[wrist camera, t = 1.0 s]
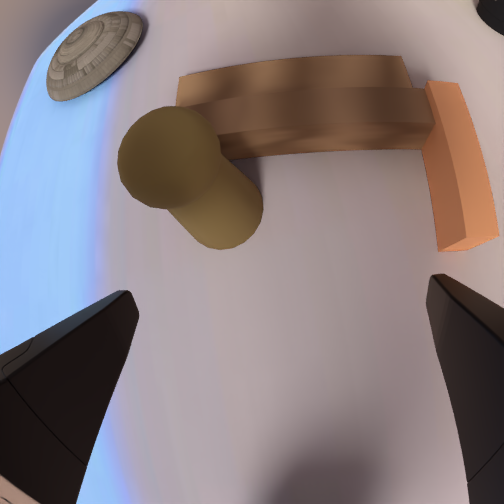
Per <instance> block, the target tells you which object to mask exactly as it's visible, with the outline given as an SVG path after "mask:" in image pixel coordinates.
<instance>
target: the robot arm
mask: <svg viewBox="0 0 504 504" xmlns="http://www.w3.org/2000/svg"><path fill="white" fill-rule="evenodd" d="M426 307H427V312H428V316H429V320H430V325H431V329H432V334H433V339H434V344H435V348H436V352H437V356H438V359H439V362H440V365H441V369H442V372H443V376H444V379H445V382H446V386H447V390H448V393H449V397H450V401H451V405H452V409H453V413H454V417H455V421H456V426H457V430H458V435H459V439H460V444H461V449H462V455H463V460H464V466H465V472H466V479H467V482H468V483H467V487H468V494H469V503H470V504H504V308H502V307H501V306H499V305H497V304H496V303H494V302H492V301H491V300H489V299H487V298H486V297H484V296H482V295H481V294H479V293H477V292H475V291H474V290H472V289H470V288H469V287H467V286H465V285H463V284H462V283H460V282H458V281H456V280H454V279H453V278H451V277H449V276H447V275H446V274H434V275H432V276H431V277H430V280H429V286H428V292H427V298H426ZM138 320H139V311H138V308H137V306H136V303H135V301H134V298H133V296H132V293H131V292H130V291H128V290H119V291H116V292H114V293H112V294H110V295H109V296H107V297H105V298H103V299H101V300H99V301H97V302H96V303H94V304H92V305H90V306H88V307H86V308H84V309H83V310H81V311H79V312H77V313H75V314H74V315H72V316H70V317H68V318H66V319H64V320H63V321H61V322H59V323H57V324H55V325H54V326H52V327H50V328H48V329H46V330H45V331H43V332H41V333H39V334H38V335H36V336H35V337H32V338H30V339H29V340H27V341H25V342H23V343H21V344H20V345H18V346H16V347H14V348H12V349H10V350H8V351H6V352H5V353H3V354H1V355H0V504H76V502H77V498H78V495H79V492H80V488H81V485H82V482H83V479H84V475H85V472H86V469H87V465H88V462H89V459H90V456H91V453H92V450H93V447H94V444H95V441H96V438H97V436H98V433H99V430H100V427H101V424H102V421H103V419H104V416H105V413H106V410H107V408H108V405H109V402H110V400H111V397H112V394H113V392H114V389H115V387H116V384H117V382H118V379H119V376H120V374H121V371H122V369H123V366H124V364H125V361H126V359H127V356H128V353H129V350H130V346H131V343H132V339H133V336H134V333H135V329H136V326H137V323H138Z"/></svg>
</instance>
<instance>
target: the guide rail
mask: <svg viewBox="0 0 504 504" xmlns="http://www.w3.org/2000/svg"><path fill="white" fill-rule="evenodd" d="M176 106H180V107H185V108H188V109H191V110H194V111H196V112H198V113H199V114H201V115H202V116H203V117H204V118H205V119H206V120H208V121H209V122H210V123H211V125H212V127H213V128H214V130H215V132H216V134H217V136H218V139H219V141H220V149H221V154H222V155H223V156H224V157H225V158H226V159H228V160H234V159H243V158H252V157H262V156H272V155H283V154H296V153H309V152H325V151H346V150H378V149H421V150H422V154H423V159H424V163H425V168H426V173H427V178H428V183H429V189H430V194H431V200H432V207H433V213H434V220H435V228H436V236H437V244H438V252H445V251H462V250H469V249H471V248H473V247H476V246H478V245H480V244H482V243H485V242H487V241H489V240H491V239H494V238H496V237H498V236H499V230H498V224H497V218H496V212H495V207H494V201H493V196H492V192H491V187H490V183H489V178H488V174H487V170H486V166H485V162H484V159H483V155H482V151H481V148H480V145H479V141H478V138H477V135H476V132H475V128H474V125H473V122H472V120H471V117H470V114H469V111H468V108H467V106H466V103H465V100H464V98H463V95H462V93H461V90H460V88H459V85H458V83H450V82H440V81H429V80H428V81H427V83H426V86H425V89H422V88H413V87H412V84H411V81H410V78H409V76H408V73H407V70H406V67H405V65H404V62H403V59H402V57H401V56H386V55H337V56H316V57H302V58H290V59H281V60H272V61H264V62H256V63H249V64H243V65H237V66H231V67H225V68H220V69H214V70H209V71H204V72H200V73H195V74H191V75H186V76H182V77H179V84H178V91H177V98H176Z"/></svg>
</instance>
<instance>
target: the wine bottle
mask: <svg viewBox="0 0 504 504" xmlns="http://www.w3.org/2000/svg"><path fill="white" fill-rule="evenodd" d="M477 12H478V15H479V16H480V17H481V19H482V20H483V21H484V22H485V23H486V24H487V25H488V26H490V27H491V28H492V29H494V30H495V31H497V32H498V33H500V34H502V35H504V0H479V3H478V6H477Z"/></svg>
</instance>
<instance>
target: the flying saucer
mask: <svg viewBox="0 0 504 504" xmlns="http://www.w3.org/2000/svg"><path fill="white" fill-rule="evenodd" d="M142 28H143V23H142V20H141V18H140V17H139V16H138V15H136V14H134V13H130V12H123V11H117V12H109V13H105V14H102V15H99V16H97V17H94V18H92V19H90V20H88V21H86V22H85V23H83V24H82V25H80V26H79V27H78V28H76V29H75V30H74V31H73V32H72V33H71V34H70V35H69V36H68V37H67V38H66V39H65V40H64V41H63V42H62V43H61V45H60V46H59V47H58V49H57V51H56V52H55V54H54V56H53V58H52V60H51V62H50V65H49V68H48V72H47V79H46V84H47V91H48V94H49V96H50V97H51V98H52V99H53V100H55V101H67V100H71V99H74V98H76V97H79V96H81V95H83V94H85V93H86V92H88V91H90V90H91V89H93V88H94V87H96V86H97V85H98V84H100V83H101V82H102V81H104V80H105V79H106V78H107V77H108V76H110V75H111V74H112V73H113V72H114V71H115V70H116V69H117V68H118V67H119V66H120V65H121V64H122V63H123V62H124V60H125V59H126V58H127V57H128V56H129V54H130V53H131V52H132V50H133V49H134V47H135V45H136V44H137V42H138V40H139V38H140V35H141V32H142Z"/></svg>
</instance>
